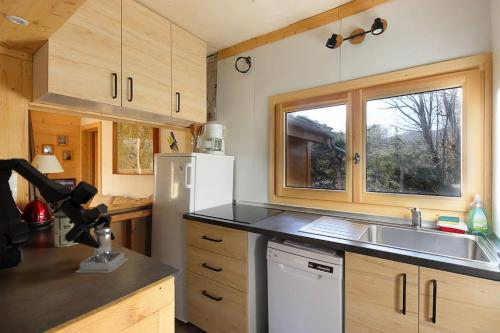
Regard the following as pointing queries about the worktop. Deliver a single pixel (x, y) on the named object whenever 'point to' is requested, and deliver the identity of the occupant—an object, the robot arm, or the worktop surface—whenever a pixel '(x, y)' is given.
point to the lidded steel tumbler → (103, 244)
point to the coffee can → (62, 230)
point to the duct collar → (101, 264)
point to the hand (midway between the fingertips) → (106, 243)
